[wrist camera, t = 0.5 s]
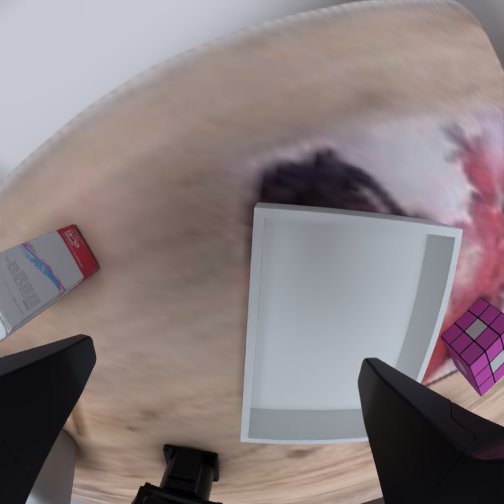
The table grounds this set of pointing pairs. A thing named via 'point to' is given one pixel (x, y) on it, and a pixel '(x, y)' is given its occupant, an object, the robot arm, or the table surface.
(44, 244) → the ink box
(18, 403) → the robot arm
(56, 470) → the vase
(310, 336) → the tote
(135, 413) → the table surface
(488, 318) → the puzzle toy
